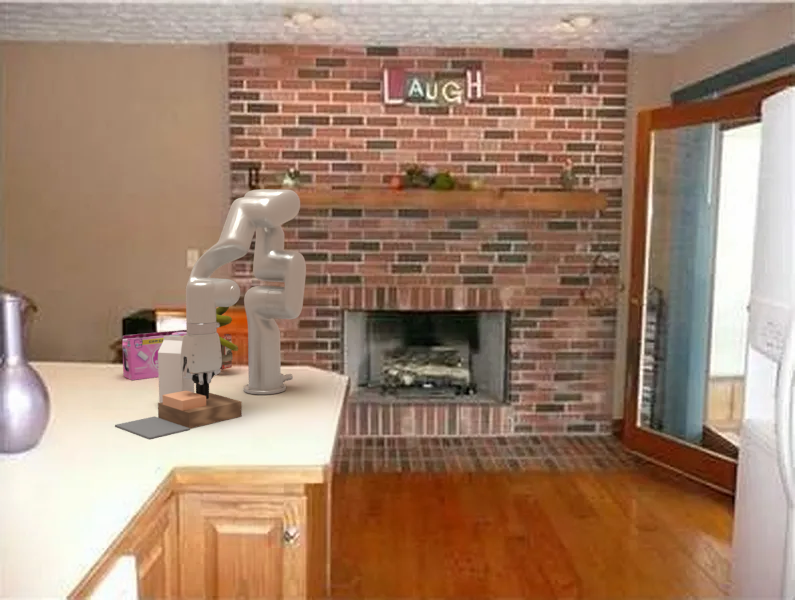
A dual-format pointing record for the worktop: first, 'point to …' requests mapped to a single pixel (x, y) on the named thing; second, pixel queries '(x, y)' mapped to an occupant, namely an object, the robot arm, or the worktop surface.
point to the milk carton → (171, 368)
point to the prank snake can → (225, 338)
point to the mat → (152, 427)
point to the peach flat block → (184, 400)
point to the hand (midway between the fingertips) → (202, 398)
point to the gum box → (143, 353)
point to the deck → (203, 412)
